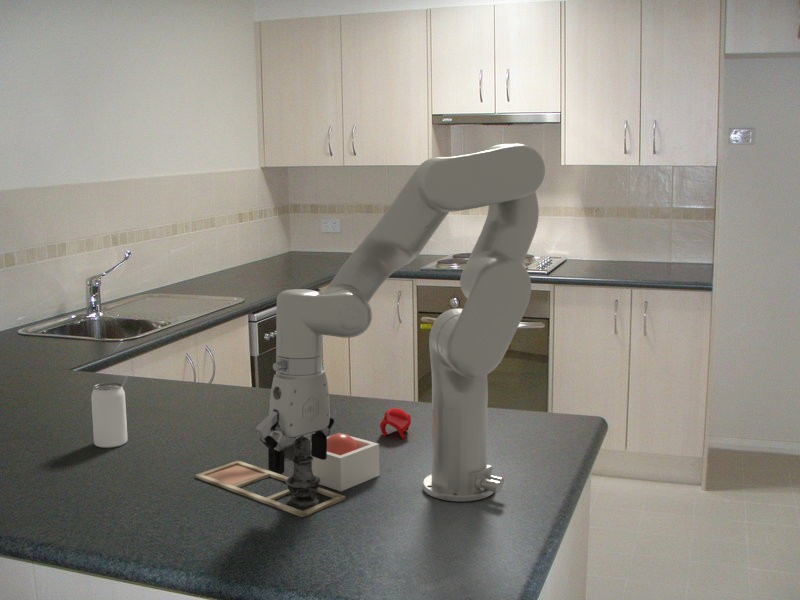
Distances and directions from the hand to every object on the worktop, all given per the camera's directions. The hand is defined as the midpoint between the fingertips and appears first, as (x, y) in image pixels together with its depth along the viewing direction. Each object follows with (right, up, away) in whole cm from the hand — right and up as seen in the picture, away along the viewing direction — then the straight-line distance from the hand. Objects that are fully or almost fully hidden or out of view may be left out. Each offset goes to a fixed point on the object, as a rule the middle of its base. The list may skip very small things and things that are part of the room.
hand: (298, 464), depth 149 cm
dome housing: (+6, -4, +12) cm, 14 cm away
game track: (-6, -5, +7) cm, 11 cm away
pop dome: (+6, -3, +12) cm, 14 cm away
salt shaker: (+1, -7, +1) cm, 7 cm away
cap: (+16, -1, +36) cm, 40 cm away
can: (-41, -2, +31) cm, 52 cm away
